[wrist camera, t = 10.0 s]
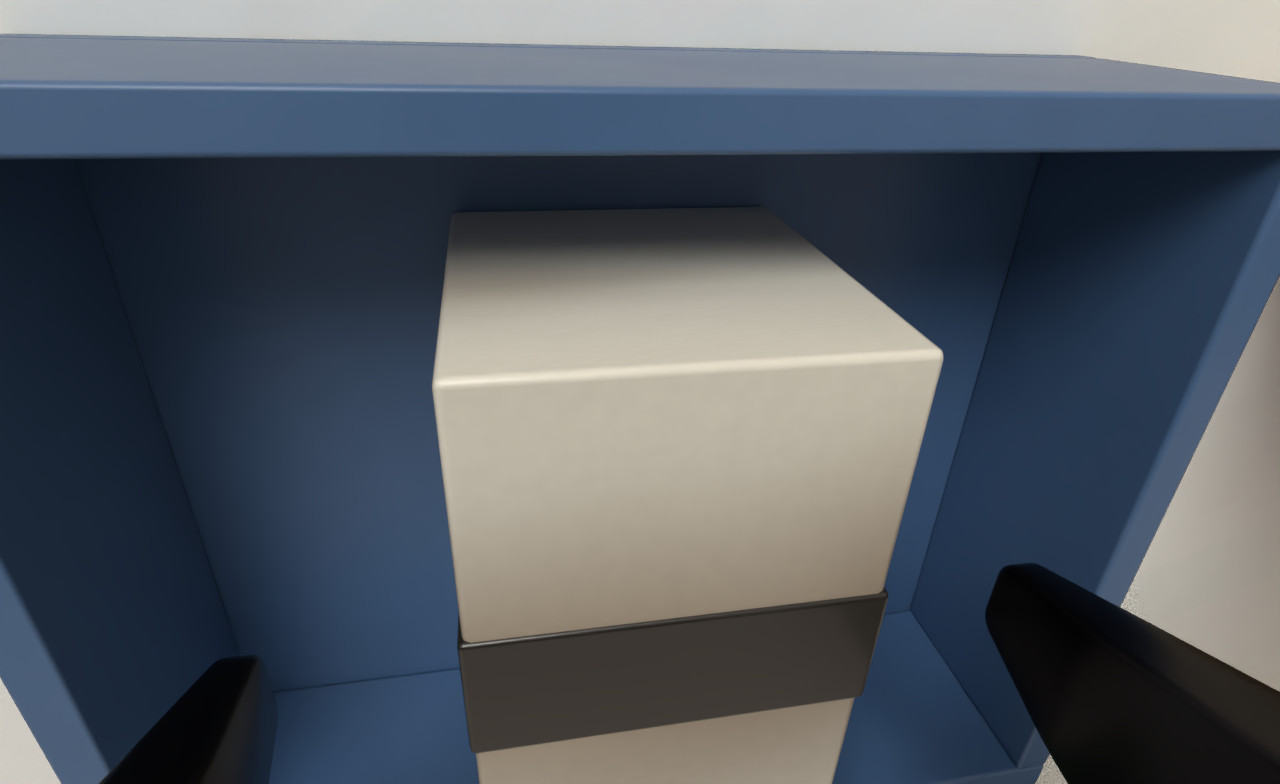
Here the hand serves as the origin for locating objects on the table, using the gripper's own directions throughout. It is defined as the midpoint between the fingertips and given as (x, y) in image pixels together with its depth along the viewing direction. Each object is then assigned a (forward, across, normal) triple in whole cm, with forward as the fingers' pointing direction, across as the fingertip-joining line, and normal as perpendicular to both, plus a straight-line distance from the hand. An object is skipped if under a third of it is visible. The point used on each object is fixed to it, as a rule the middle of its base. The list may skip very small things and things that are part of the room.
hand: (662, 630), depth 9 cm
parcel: (+5, 0, 0) cm, 5 cm away
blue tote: (+5, 0, 0) cm, 5 cm away
